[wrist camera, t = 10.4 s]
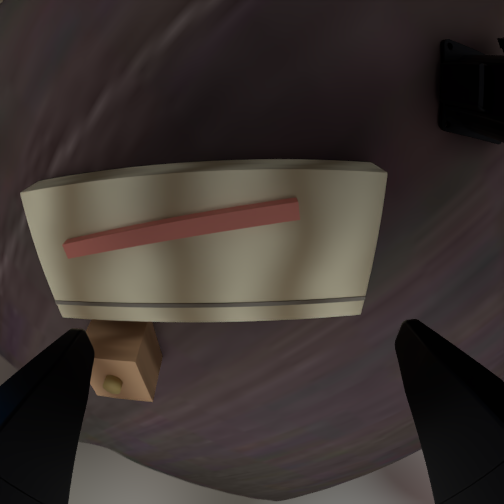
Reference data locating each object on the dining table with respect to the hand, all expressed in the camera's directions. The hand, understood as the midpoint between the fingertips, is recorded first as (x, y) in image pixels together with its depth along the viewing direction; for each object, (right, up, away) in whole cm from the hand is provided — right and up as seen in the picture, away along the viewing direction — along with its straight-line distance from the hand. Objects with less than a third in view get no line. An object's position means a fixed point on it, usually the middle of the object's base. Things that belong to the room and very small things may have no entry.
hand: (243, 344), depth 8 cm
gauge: (-10, -5, +16) cm, 20 cm away
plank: (-3, +3, +12) cm, 13 cm away
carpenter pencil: (-4, +4, +9) cm, 10 cm away
